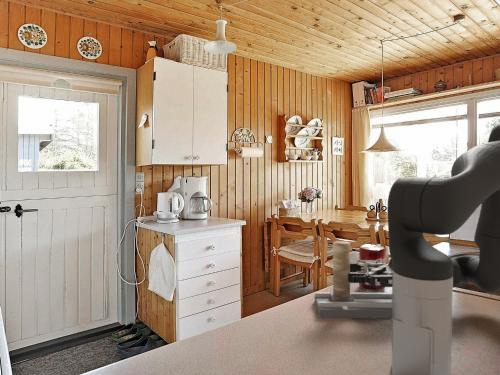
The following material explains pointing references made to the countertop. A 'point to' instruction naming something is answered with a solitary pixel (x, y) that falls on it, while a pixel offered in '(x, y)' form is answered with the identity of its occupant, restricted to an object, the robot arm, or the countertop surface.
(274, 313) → the countertop surface
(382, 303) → the slider track
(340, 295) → the knob slider
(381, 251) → the soda can
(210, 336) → the countertop surface
